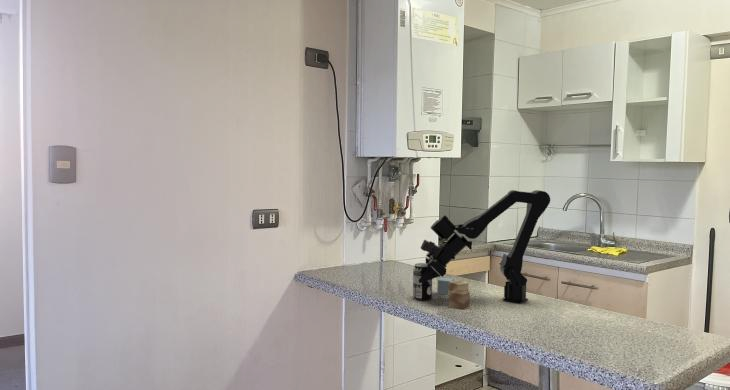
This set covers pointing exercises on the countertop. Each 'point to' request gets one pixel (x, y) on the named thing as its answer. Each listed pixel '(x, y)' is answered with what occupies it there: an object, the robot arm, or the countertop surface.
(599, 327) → the countertop surface
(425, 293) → the beverage can
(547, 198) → the robot arm
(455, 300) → the walnut block
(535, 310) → the countertop surface
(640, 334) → the countertop surface
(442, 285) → the slate block
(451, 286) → the oak block
